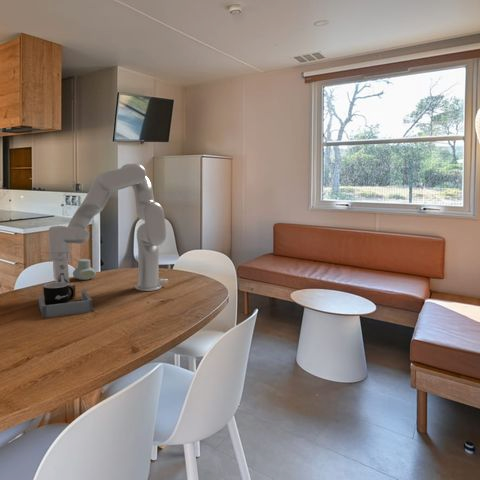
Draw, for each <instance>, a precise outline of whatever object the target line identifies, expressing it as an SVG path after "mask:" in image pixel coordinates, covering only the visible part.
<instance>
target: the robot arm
mask: <svg viewBox="0 0 480 480" xmlns="http://www.w3.org/2000/svg"><path fill="white" fill-rule="evenodd" d="M128 187H132V189H133V192H134V198H135V209H136V214H137V217H138V218H139V219H140V220H142V221H144V223H142V224H140V225H139V226H138V228H137V230H136V241H137V248H138V251H137V252H138V253H137V256H138V257H137V259H138V260H137V261H138V262H137V263H138V265H137V268H138V271H137V272H138V283H137V284H135V285H134V289H135V290H137V291H141V292H154V291H158V290H160V289H161V288H162V287H163V286H162V284H167V283H169V279H168V278H160V277H159V263H160V262H159V259H160V258H159V256H160V255H159V254H160V253H159V246H162V244H163V243H164V242H165V241H166V238H167V229H166V227H167V226H166V218H165V217H166V216H165V211H164V209H163V206H162V205H161V204H160V203H158V202H157V201H155V195H154V189H153V186H152V182H151V181H150V179H149V177H148V176H147V170H146V168H145V167H144V166H143V165H142V164H140V163H125V164H124V165H122V166H121V167H120V168H117V169H112V170H104V171H101V172H99V173H98V174H97V176H96V178H95V179H94V181H93V183H92V185H91V187H90V189H89V190H88V193H86V196H85V198H84V199H83V200H82V202H81V204H80V206H79V207H78V208H77V210H76V211H75V213H74V214H73V216H72V218H71V219H70V221H69V223H68V225H67V226H66V225H65V226H63V225H55V226H50V227H49V228H48V247H49V260H50V261H52V268H53V269H52V270H53V271H52V272H53V279H54V282H66V283H68V284H70V275H69V274H70V273H69V261H68V260H70V244H79V245H81V244H85V243H86V242H88V240H89V238H90V235H91V234H90V231H89V229H88V228H87V227H88V226H89V224H90V223H91V221H92V220H93V219H94V218H95V216H97V215H98V214H100V213H101V212H102V211H103V210H104V209H105V207H106V205H107V203H108V201H109V198H110V197H111V195H112V194H113V192H115V191H119V190H123V189H126V188H128Z"/></svg>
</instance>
